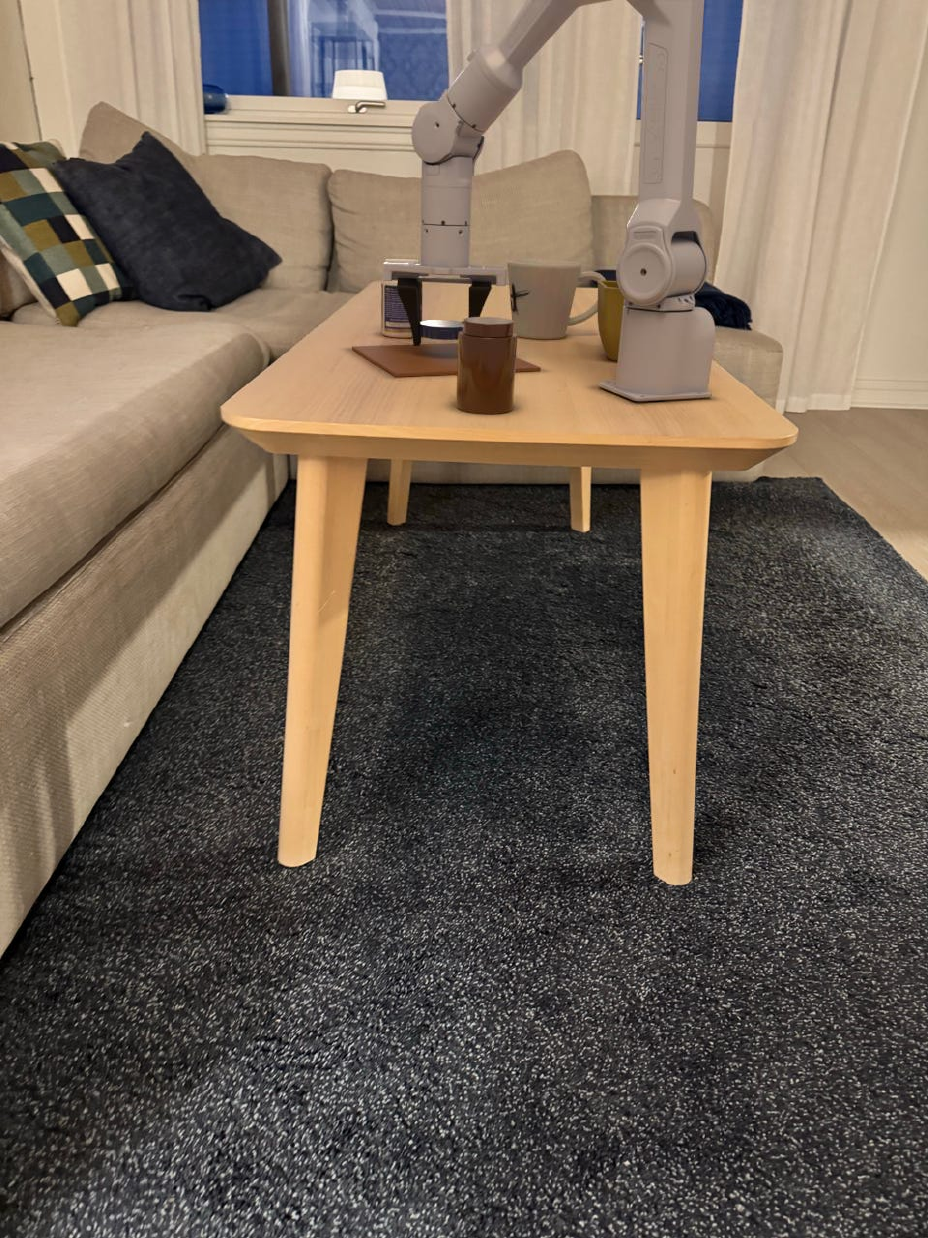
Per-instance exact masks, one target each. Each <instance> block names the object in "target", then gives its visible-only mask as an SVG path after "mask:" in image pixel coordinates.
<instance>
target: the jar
mask: <svg viewBox="0 0 928 1238" xmlns="http://www.w3.org/2000/svg"><path fill="white" fill-rule="evenodd" d="M461 322H462V324H463V331H460V332H459V333H458V340H457V343H458V363H457V375H456V397H455V399H456V400H455V406H456V408H457V410H460V411H462V412H466V413H470V414H477V415H478V414H479V415H499V414H500V415H501V414H506V413H510V412H512V411H513V410H514V402H515V401H514V399H515V385H516V384H515V383H516V372H515V368H516V357H517V349H518V336H517V334H515V333H513V330H514V321H512V319H510V318H509V319H508V318H503V317H496V316H495V317H492V316H480V317H471V318H468V317H466V318H463V319H462V320H461Z"/></svg>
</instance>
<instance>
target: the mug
mask: <svg viewBox="0 0 928 1238" xmlns="http://www.w3.org/2000/svg"><path fill="white" fill-rule="evenodd" d="M506 264H507V265H506V266H507V277H508V288H509V290H508V291H509V301H510V309H511V310H510V311H511V312H510V313H511V320H512V321H514V330H513V333H515V334H517V337H518V338H523V339H530V340H531V339H532V340H558V339H562V338H565V337H566V335H567V330H568V327H572V326H576V325H579V324H581V323H583V322H586V321H587V320H589V319H590V318H592V317H593V316H595V315H596V314H598V299H597V300H596V302H595V303H593V305H592V306H590V308H589V309H587V310H586V311H584V312H582V313H581V314H580V313H579V314H578V315H576V316H573V317H571V314H572V313H571V312H572V309H573V304H574V300H575V296H576V291H577V287H578V283H580V282H583V281H588V280H589V281H590V280H591V281H594V282H596V283H598V281H607V280H606V278H605V277H604V275H602V274H601V273H600V272H596V271H592V270H586V271H582V272H581V269H582V264H581V263H580V262H576V261H571V260H561V259H550V258H549V259H548V258H547V259H546V258H512V259H508V260H507V262H506Z"/></svg>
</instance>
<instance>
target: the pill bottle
mask: <svg viewBox="0 0 928 1238" xmlns="http://www.w3.org/2000/svg"><path fill="white" fill-rule="evenodd" d="M385 262H391V263H420V260H418V259H411V258H385V259H384V263H385ZM397 283H398V281H394V280H392V281H383V278H382V279H381V281H380V292H381V293H380V297H381V298H380V300H381V301H380V304H381V305H380V306H381V307H380V312H381V313H380V314H381V315H380V325H381V326H380V328H381V334H382V335H383V336H385V337H388V338H400V339H401V338H402V339H403V338H405V339H407V338H408V339H411V338H412V332H411V328H410V324H409V320H408V317H407V314H406V311H405V308H404V306H403V303H402V301H401V299H400V297H399V295H398V292H397V289H396V286H397ZM423 287H424V286H423V283H422V292H421V313H420V314H421V321H423V294H424V293H423V289H424V288H423Z"/></svg>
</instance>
